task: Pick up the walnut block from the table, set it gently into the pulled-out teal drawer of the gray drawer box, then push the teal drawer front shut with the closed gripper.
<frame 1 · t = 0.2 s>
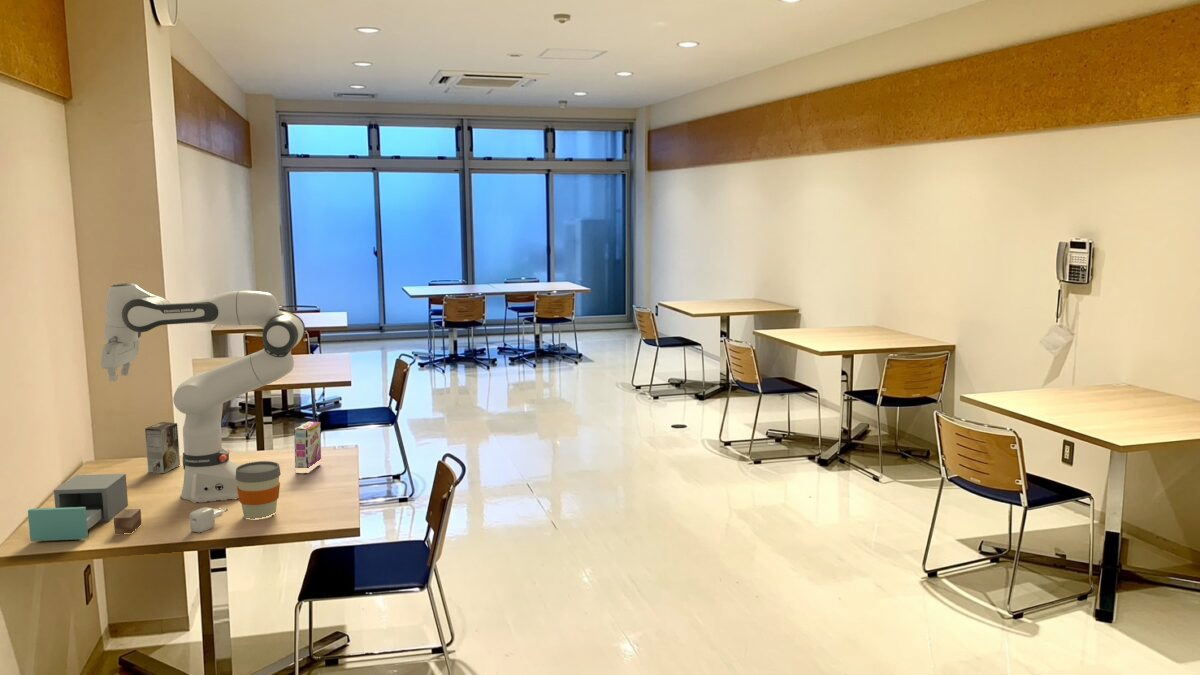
hand: (119, 378, 256), 39 cm above the table, tool pointing down, fingers open, 8 cm apart
walnut block: (128, 530, 235), on the table
teal drawer: (69, 515, 231), point 5 cm above the table, slide at 13.0 cm
gray drawer box: (93, 514, 246), on the table
candy bar box: (308, 470, 293), on the table
coffee box: (164, 470, 290), on the table
power adapter: (209, 527, 238), on the table
reusable coffee cup: (260, 515, 248), on the table
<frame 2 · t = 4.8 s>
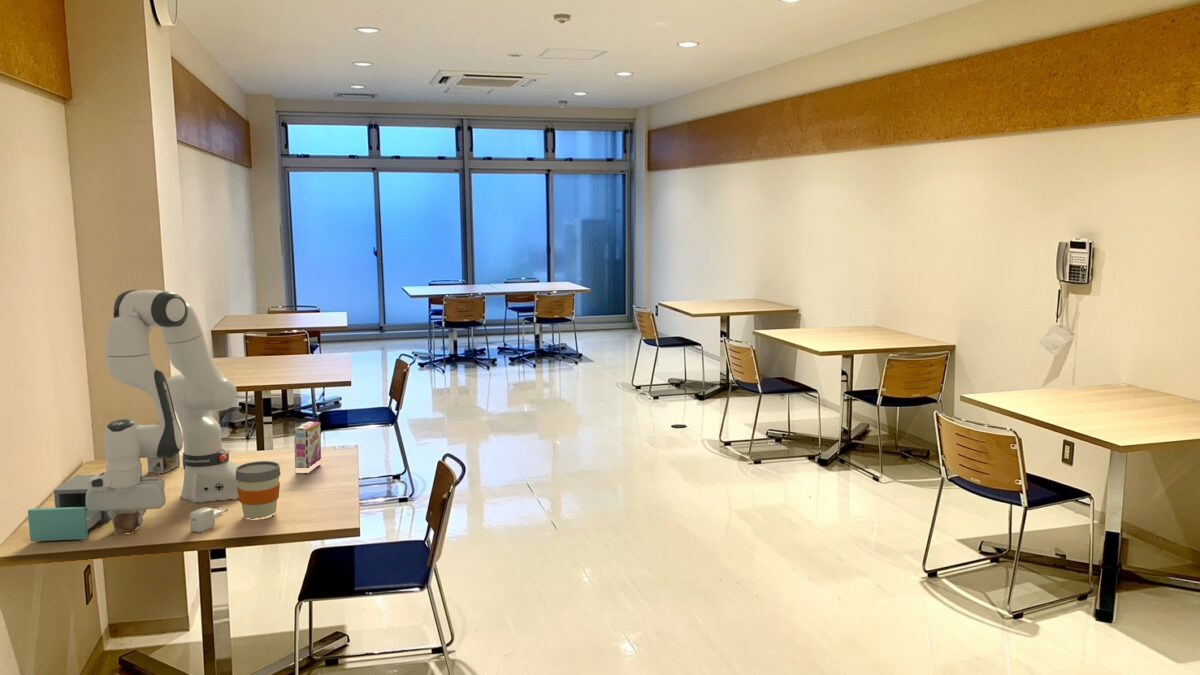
hand: (127, 523, 234), 2 cm above the table, tool pointing down, fingers closed on walnut block, 4 cm apart
walnut block: (128, 529, 235), on the table, touching gripper
everything else where it was.
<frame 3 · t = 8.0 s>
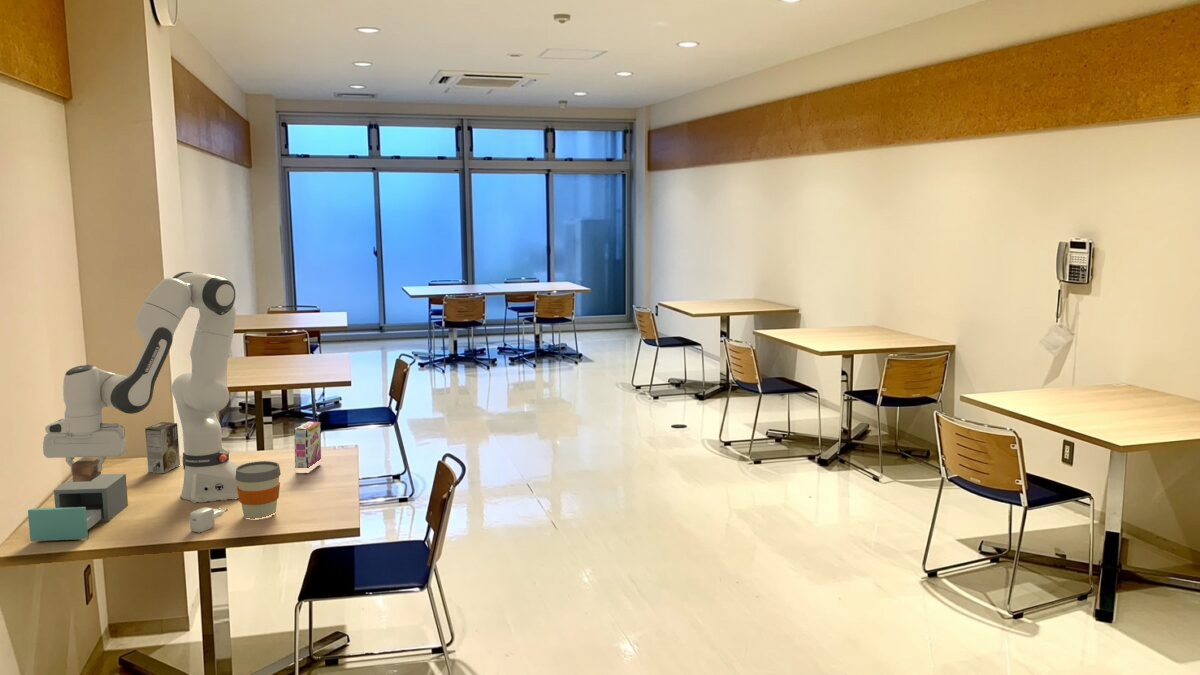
hand: (86, 471, 230), 18 cm above the table, tool pointing down, fingers closed on walnut block, 4 cm apart
walnut block: (87, 477, 230), point 16 cm above the table, touching gripper
everything else where it was.
when the fingers open (5 cm above the table, at t = 11.2 s): walnut block drops 1 cm, resting on teal drawer.
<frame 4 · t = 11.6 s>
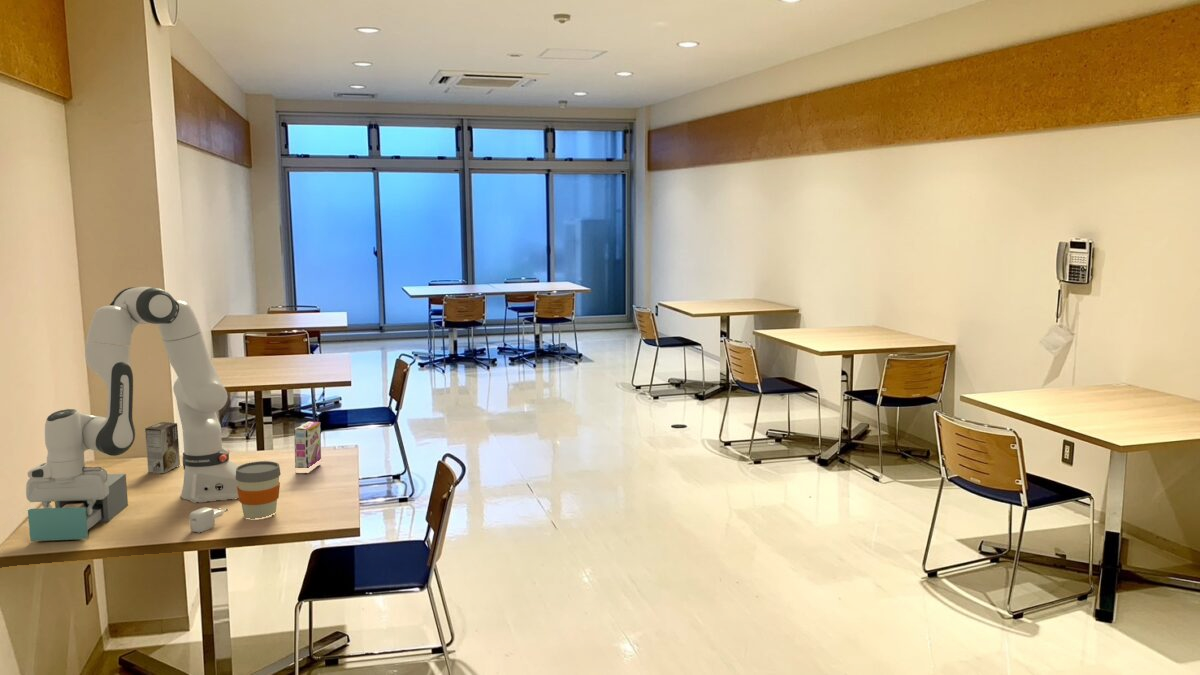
hand: (70, 515, 232), 5 cm above the table, tool pointing down, fingers open, 8 cm apart
walnut block: (71, 524, 232), point 2 cm above the table, touching teal drawer
teal drawer: (69, 515, 231), point 5 cm above the table, slide at 13.0 cm, touching walnut block
everything else where it was.
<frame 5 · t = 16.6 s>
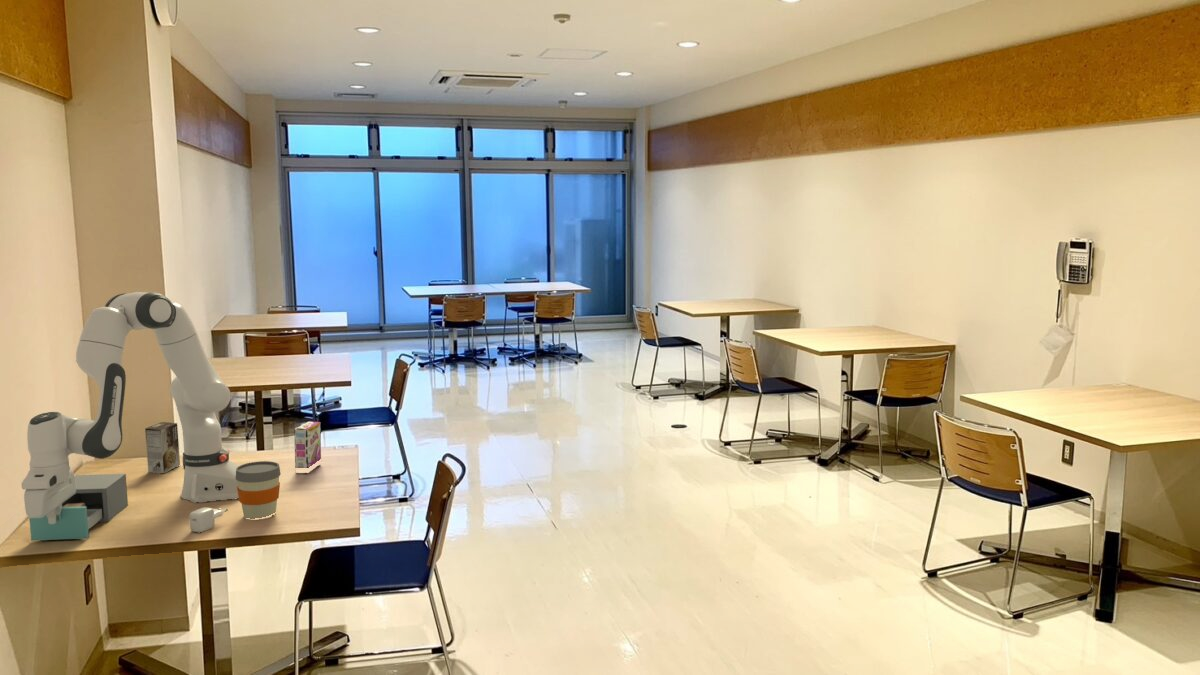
hand: (54, 522, 222), 6 cm above the table, tool pointing down, fingers closed
teal drawer: (69, 515, 231), point 5 cm above the table, slide at 12.5 cm, touching gripper, walnut block
everything else where it was.
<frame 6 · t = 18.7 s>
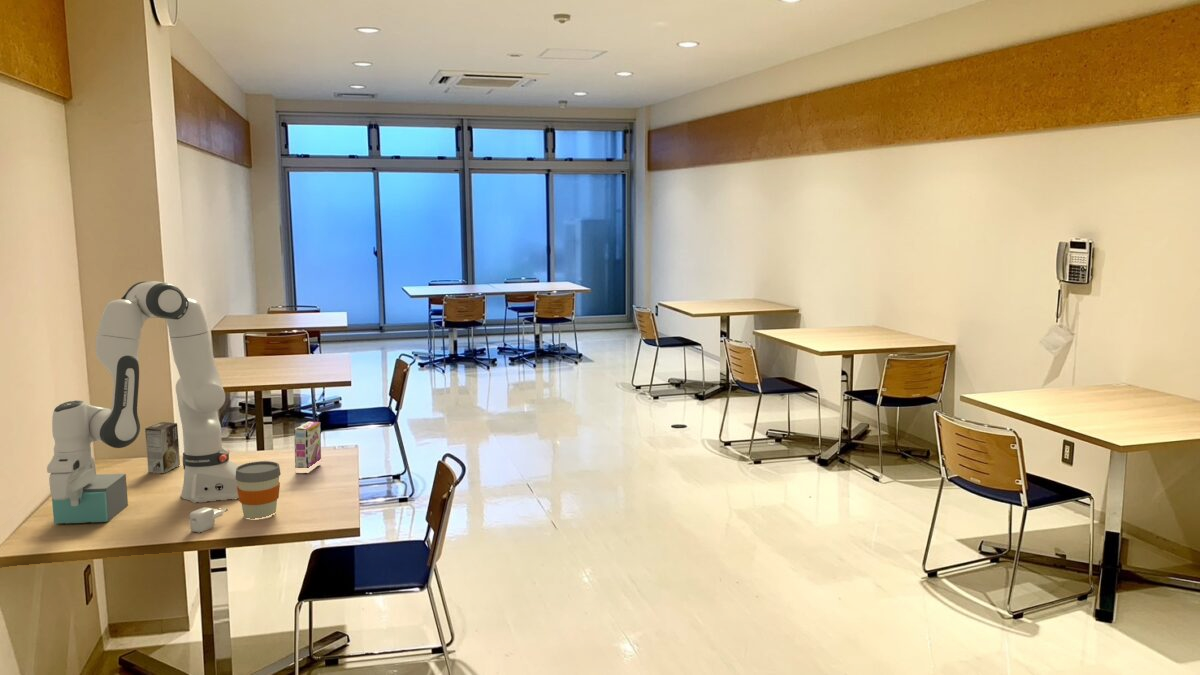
hand: (76, 504, 235), 7 cm above the table, tool pointing down, fingers closed
walnut block: (91, 508, 245), point 2 cm above the table, touching teal drawer
teal drawer: (90, 500, 244), point 5 cm above the table, slide at -0.1 cm, touching gripper, walnut block
everything else where it was.
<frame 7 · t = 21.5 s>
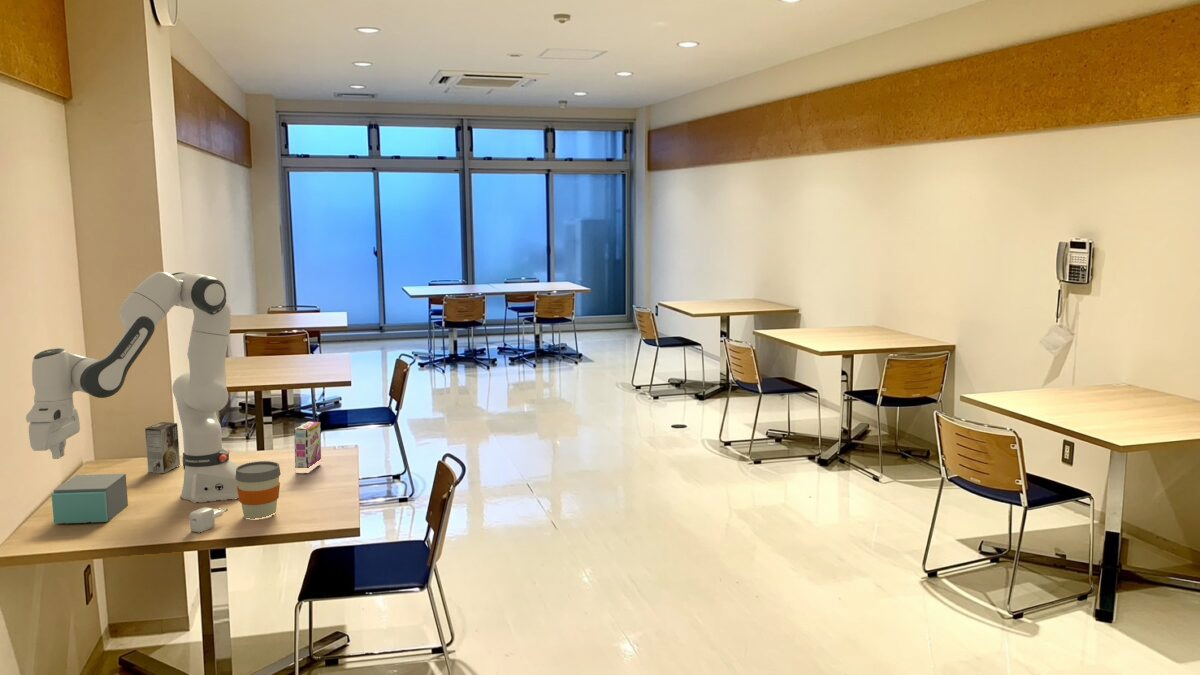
hand: (58, 457, 225), 23 cm above the table, tool pointing down, fingers closed
teal drawer: (89, 500, 244), point 5 cm above the table, slide at 0.0 cm, touching walnut block
everything else where it was.
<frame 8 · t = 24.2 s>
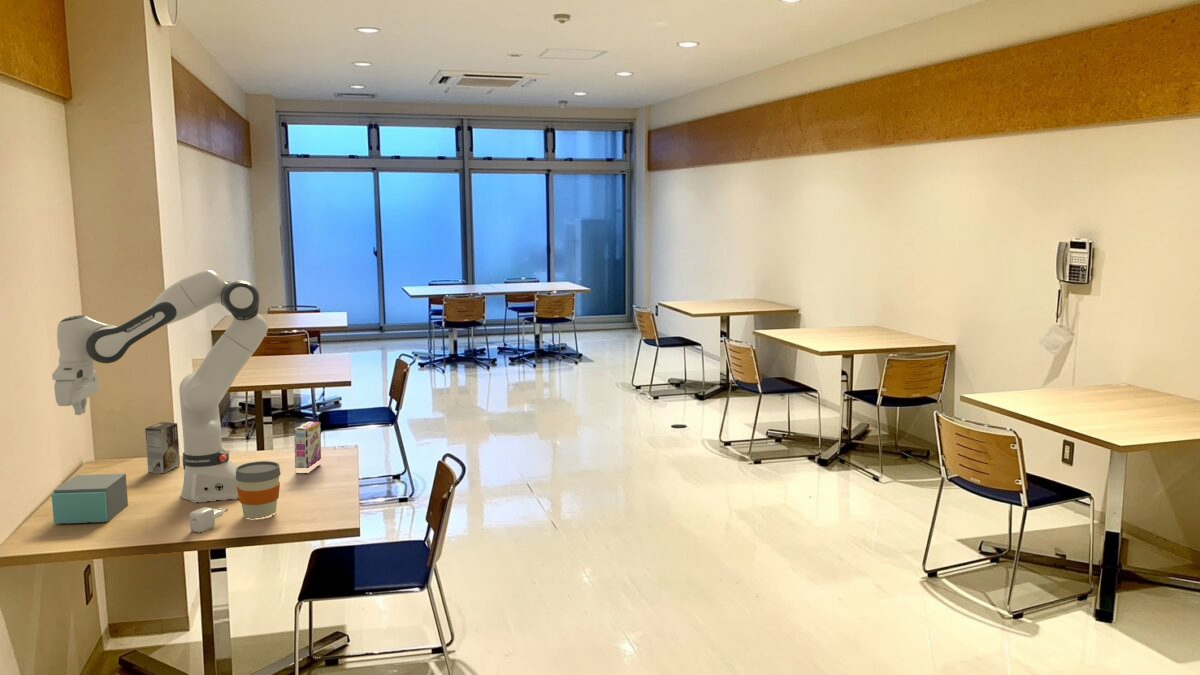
hand: (80, 414, 249), 29 cm above the table, tool pointing down, fingers closed
nothing on the table moved.
at the end: teal drawer slide at 0.0 cm; walnut block inside the target area on the gray drawer box (0.8 cm from its centre), point 2.1 cm above the gray drawer box's base; the gripper is holding nothing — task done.
